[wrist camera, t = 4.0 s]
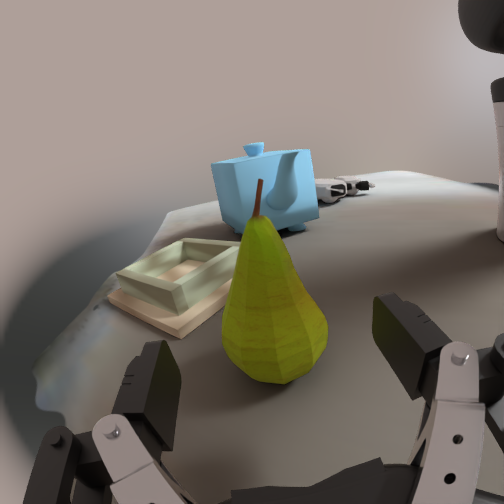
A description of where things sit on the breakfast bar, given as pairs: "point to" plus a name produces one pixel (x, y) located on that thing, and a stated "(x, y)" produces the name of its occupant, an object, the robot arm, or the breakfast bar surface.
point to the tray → (178, 284)
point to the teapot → (267, 187)
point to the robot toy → (339, 187)
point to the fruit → (270, 308)
